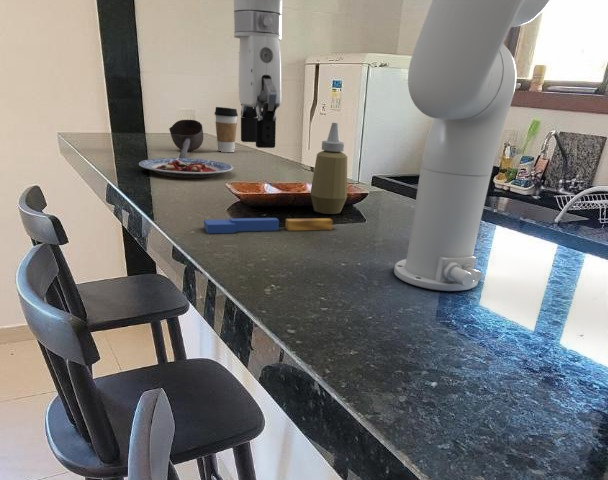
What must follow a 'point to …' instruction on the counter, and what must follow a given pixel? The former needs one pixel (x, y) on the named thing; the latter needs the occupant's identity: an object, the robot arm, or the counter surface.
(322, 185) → the squeeze bottle
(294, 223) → the fry
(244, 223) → the blue l-shaped block
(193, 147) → the ladle
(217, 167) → the ceramic plate
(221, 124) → the coffee cup
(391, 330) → the counter surface
